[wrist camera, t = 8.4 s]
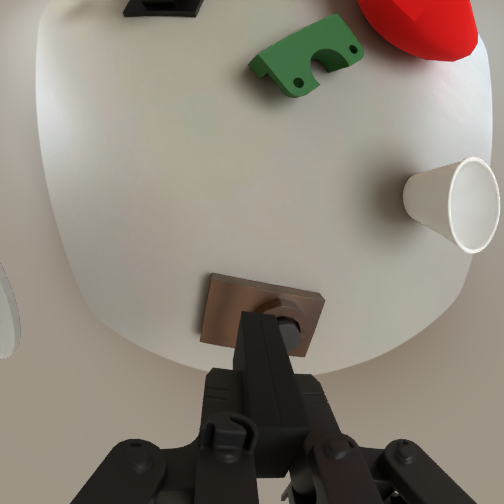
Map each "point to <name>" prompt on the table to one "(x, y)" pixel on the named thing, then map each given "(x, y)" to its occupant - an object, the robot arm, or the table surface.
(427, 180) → the cup
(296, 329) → the button
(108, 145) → the table surface
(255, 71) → the clamp
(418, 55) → the vase
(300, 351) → the button block
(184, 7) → the black bracket
